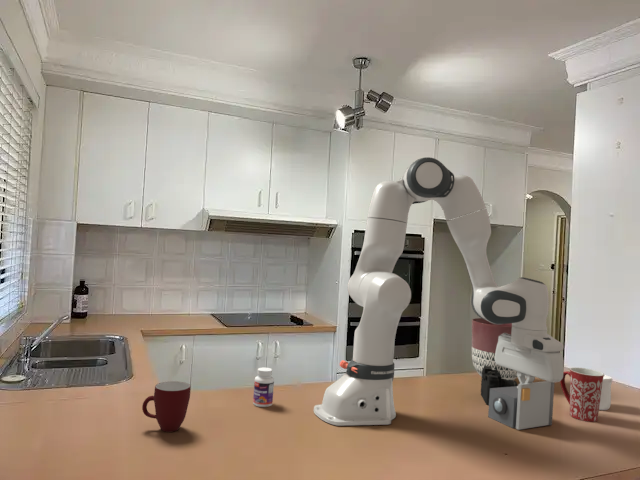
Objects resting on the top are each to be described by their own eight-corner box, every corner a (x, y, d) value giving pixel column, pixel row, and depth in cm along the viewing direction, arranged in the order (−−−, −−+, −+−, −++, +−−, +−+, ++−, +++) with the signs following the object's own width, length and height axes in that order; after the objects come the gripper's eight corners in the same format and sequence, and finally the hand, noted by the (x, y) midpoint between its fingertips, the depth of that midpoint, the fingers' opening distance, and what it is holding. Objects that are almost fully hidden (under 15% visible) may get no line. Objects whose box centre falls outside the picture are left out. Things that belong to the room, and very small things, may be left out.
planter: (471, 385, 176) (475, 323, 176) (465, 372, 195) (468, 316, 195) (531, 392, 173) (535, 328, 173) (518, 378, 192) (522, 321, 192)
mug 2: (608, 421, 146) (611, 374, 146) (586, 424, 142) (589, 375, 142) (571, 407, 157) (573, 363, 158) (549, 409, 154) (552, 364, 154)
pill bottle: (249, 405, 140) (251, 369, 140) (258, 400, 145) (261, 365, 145) (266, 408, 138) (269, 372, 138) (275, 403, 143) (278, 368, 143)
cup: (603, 412, 154) (605, 380, 154) (569, 403, 162) (571, 372, 162) (615, 407, 161) (617, 376, 161) (582, 399, 168) (584, 369, 168)
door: (520, 430, 133) (523, 385, 133) (515, 428, 134) (518, 383, 134) (553, 425, 139) (556, 382, 139) (548, 423, 140) (551, 380, 140)
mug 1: (138, 436, 114) (141, 391, 114) (142, 423, 121) (145, 381, 121) (187, 434, 116) (190, 390, 116) (187, 422, 124) (190, 381, 124)
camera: (520, 410, 152) (522, 376, 152) (483, 405, 154) (485, 372, 154) (512, 397, 166) (514, 366, 166) (478, 393, 168) (480, 362, 168)
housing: (509, 428, 134) (511, 395, 135) (485, 417, 143) (487, 386, 143) (545, 424, 140) (547, 392, 140) (519, 413, 148) (521, 383, 148)
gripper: (491, 331, 145) (487, 380, 145) (551, 346, 127) (548, 402, 127) (507, 331, 148) (504, 379, 148) (569, 346, 130) (565, 400, 129)
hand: (525, 390), depth 137 cm, fingers closed
